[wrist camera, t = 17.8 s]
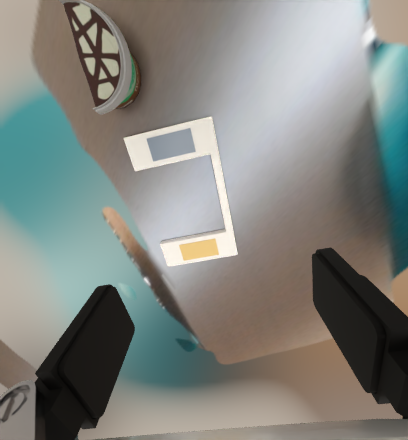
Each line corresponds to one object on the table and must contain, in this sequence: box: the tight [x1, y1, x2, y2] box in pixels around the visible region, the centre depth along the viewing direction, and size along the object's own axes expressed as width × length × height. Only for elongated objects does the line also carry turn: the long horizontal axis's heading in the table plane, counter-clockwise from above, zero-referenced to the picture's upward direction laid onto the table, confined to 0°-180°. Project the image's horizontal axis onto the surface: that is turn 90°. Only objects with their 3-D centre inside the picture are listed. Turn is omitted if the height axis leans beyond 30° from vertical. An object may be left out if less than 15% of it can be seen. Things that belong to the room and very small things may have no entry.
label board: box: [124, 116, 238, 267], centre depth 42 cm, size 16×28×2 cm, turn 12°
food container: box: [59, 0, 141, 115], centre depth 30 cm, size 12×6×10 cm, turn 9°
